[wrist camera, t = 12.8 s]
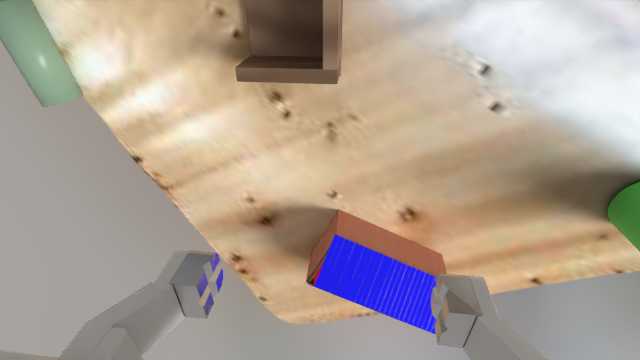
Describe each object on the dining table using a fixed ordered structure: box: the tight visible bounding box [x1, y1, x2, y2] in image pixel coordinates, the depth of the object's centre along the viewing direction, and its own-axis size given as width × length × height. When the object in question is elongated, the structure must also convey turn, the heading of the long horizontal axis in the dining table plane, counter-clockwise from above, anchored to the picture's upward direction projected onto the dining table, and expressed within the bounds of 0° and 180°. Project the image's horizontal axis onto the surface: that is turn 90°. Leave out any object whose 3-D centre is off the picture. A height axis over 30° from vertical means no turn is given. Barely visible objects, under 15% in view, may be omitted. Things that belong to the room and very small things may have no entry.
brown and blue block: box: [306, 210, 447, 334], centre depth 52 cm, size 12×20×12 cm, turn 66°
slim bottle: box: [0, 0, 83, 107], centre depth 40 cm, size 5×5×20 cm
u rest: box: [235, 0, 343, 84], centre depth 36 cm, size 11×11×7 cm
